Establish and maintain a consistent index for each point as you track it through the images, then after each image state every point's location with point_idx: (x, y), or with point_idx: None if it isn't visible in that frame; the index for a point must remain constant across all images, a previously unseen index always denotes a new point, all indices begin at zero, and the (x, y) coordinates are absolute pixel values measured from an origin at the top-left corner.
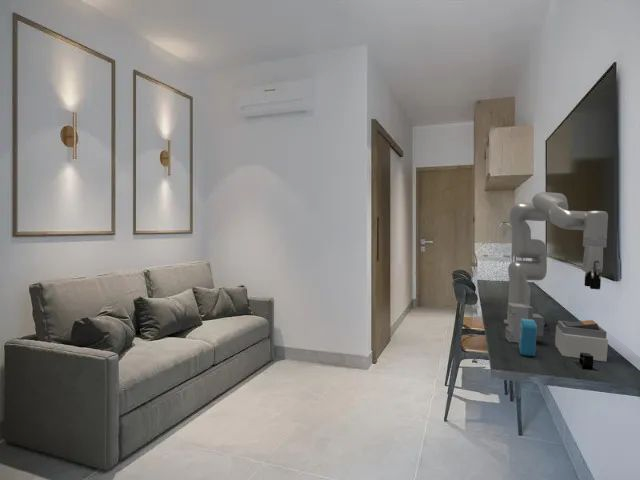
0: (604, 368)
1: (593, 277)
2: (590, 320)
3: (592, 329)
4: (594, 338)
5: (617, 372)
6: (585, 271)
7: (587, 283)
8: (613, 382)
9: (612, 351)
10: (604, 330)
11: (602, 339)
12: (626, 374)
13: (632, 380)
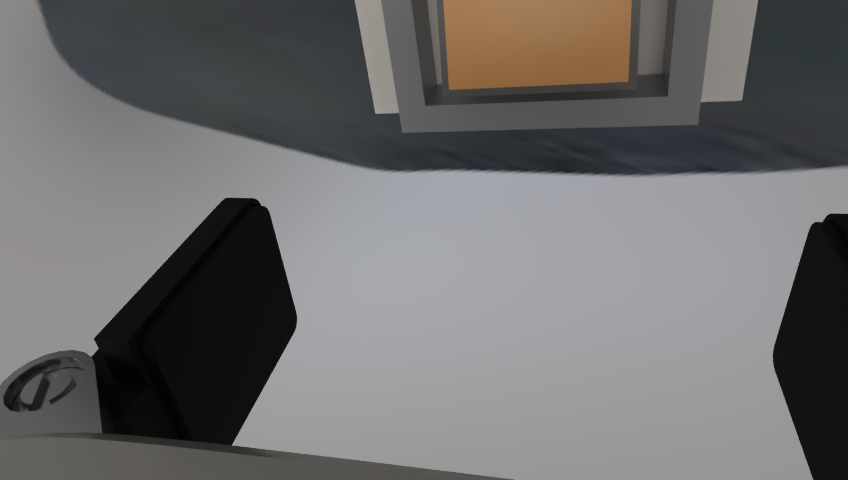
0: (257, 18)
1: (31, 389)
2: (617, 65)
3: (663, 64)
4: (360, 23)
5: (232, 71)
6: (281, 455)
7: (823, 295)
8: (46, 14)
9: (722, 153)
10: (451, 129)
11: (369, 78)
12: (230, 105)
13: (152, 107)
